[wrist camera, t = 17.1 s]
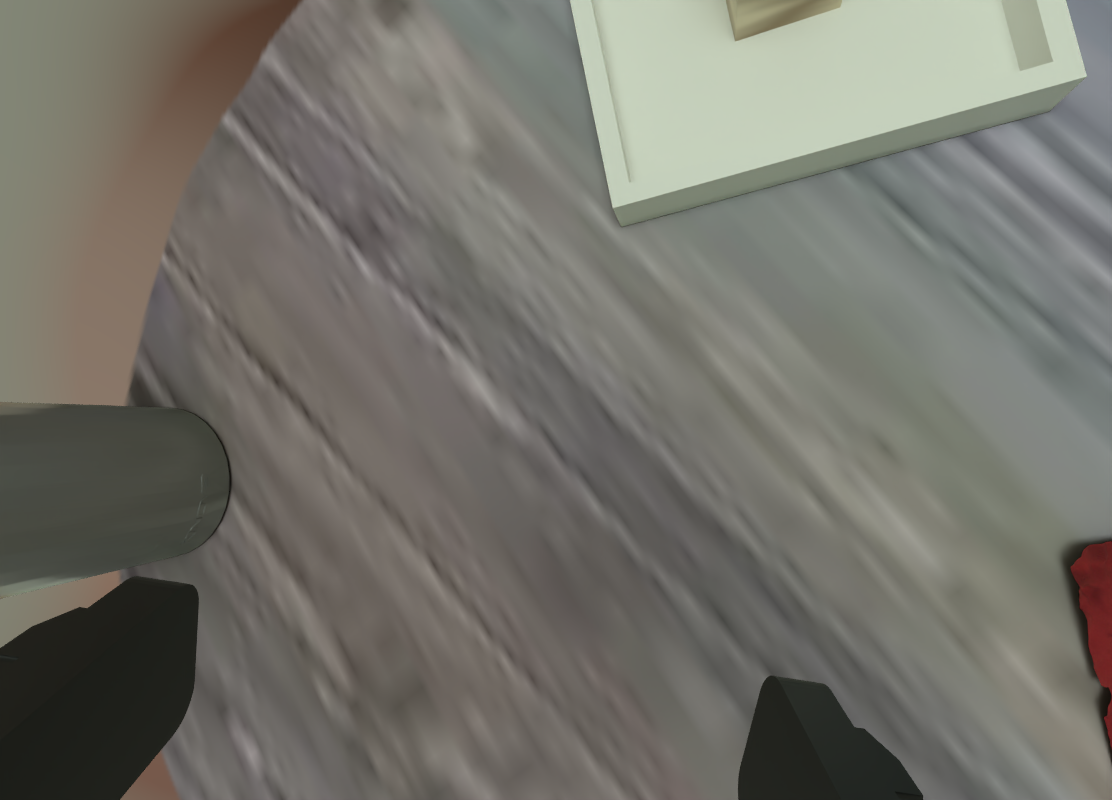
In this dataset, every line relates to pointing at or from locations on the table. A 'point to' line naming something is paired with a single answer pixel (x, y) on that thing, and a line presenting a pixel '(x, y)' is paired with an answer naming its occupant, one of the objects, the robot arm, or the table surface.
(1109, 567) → the plate with food
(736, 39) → the block
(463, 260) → the table surface
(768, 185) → the tray
